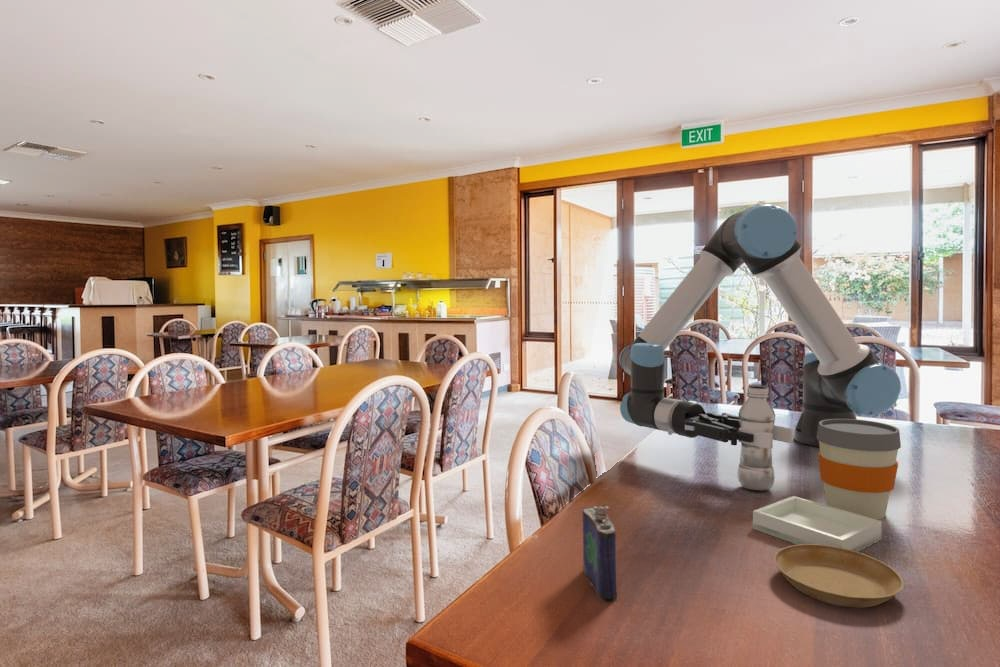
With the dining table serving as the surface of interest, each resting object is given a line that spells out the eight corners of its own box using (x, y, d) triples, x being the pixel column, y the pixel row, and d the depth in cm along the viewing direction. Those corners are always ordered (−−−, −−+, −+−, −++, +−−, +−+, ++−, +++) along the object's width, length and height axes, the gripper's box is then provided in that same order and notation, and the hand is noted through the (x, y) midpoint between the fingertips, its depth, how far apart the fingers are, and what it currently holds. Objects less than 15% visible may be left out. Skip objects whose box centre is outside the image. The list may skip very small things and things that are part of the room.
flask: (580, 569, 83) (580, 495, 82) (600, 568, 83) (600, 493, 83) (600, 604, 74) (600, 520, 73) (623, 602, 74) (623, 519, 73)
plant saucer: (932, 606, 73) (933, 586, 73) (837, 627, 69) (837, 605, 68) (833, 555, 87) (834, 538, 87) (749, 570, 83) (749, 552, 82)
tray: (793, 512, 103) (793, 495, 103) (881, 540, 91) (881, 521, 91) (752, 528, 96) (753, 510, 96) (842, 560, 85) (842, 540, 84)
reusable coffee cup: (870, 529, 95) (873, 438, 94) (799, 505, 106) (801, 423, 105) (914, 515, 101) (917, 429, 100) (842, 493, 112) (844, 415, 111)
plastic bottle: (778, 495, 112) (781, 390, 110) (740, 493, 113) (742, 389, 112) (769, 484, 118) (772, 385, 116) (733, 482, 119) (736, 384, 118)
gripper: (708, 428, 135) (808, 450, 116) (651, 441, 124) (751, 467, 105) (708, 396, 134) (809, 412, 115) (651, 405, 124) (752, 425, 105)
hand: (781, 438), depth 110 cm, fingers closed on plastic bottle, 6 cm apart
